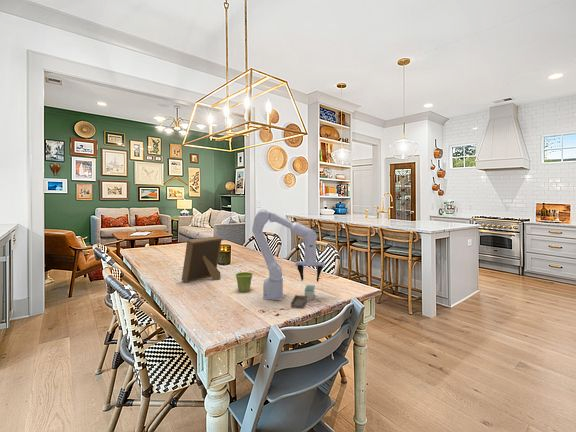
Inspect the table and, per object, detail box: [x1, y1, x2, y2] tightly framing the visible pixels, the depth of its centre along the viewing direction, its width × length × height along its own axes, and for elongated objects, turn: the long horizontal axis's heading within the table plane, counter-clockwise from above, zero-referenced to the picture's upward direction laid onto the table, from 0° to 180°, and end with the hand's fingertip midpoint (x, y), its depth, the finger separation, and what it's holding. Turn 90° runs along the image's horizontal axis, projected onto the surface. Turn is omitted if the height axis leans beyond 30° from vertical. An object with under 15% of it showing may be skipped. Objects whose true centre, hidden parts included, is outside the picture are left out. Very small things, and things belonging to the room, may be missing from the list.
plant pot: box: [234, 271, 254, 293], centre depth 159 cm, size 9×9×9 cm
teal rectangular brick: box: [304, 284, 316, 301], centre depth 149 cm, size 4×8×5 cm, turn 169°
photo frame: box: [181, 235, 222, 283], centre depth 178 cm, size 15×22×25 cm
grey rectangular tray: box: [290, 294, 308, 309], centre depth 140 cm, size 6×11×2 cm, turn 168°
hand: (310, 280), depth 149 cm, fingers open, 7 cm apart
